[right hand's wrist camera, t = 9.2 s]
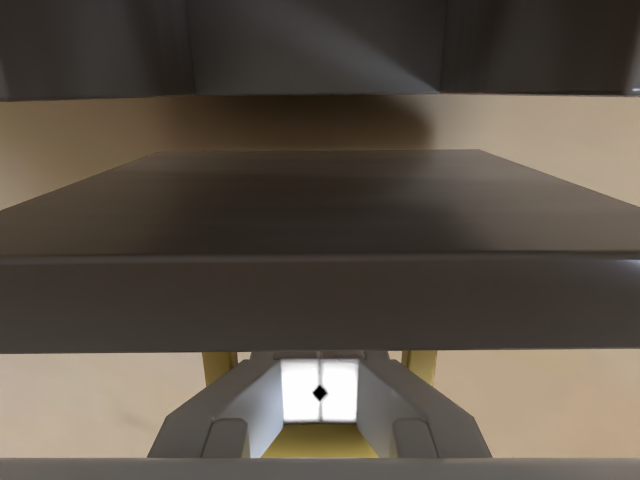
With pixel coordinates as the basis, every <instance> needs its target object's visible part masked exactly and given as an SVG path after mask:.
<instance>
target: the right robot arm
mask: <svg viewBox="0 0 640 480" xmlns="http://www.w3.org/2000/svg"><path fill="white" fill-rule="evenodd" d="M306 424H342V425H356V427H357V428H358V430H359V432H360V433H361V434H362V436H363V437H364V438H365V439H366V441H367V442H368V443H369V445H370V446H371V447H372V449H373V450H374V451H375V452H376V454H377V455H378V456H379V458H260V457H261V456H262V455H263V454H264V452H265V451H266V450H267V448H268V447H269V446H270V444H271V443H272V442H273V441H274V439H275V438H276V437H277V435H278V434H279V433H280V432H281V430H282V429H283V425H306ZM0 480H640V458H493V457H492V455H491V453H490V451H489V449H488V447H487V445H486V442H485V440H484V438H483V436H482V434H481V432H480V430H479V427H478V425H477V423H476V421H475V419H474V417H473V416H471V415H470V414H469V413H467V412H466V411H465V410H463V409H462V408H461V407H459V406H458V405H457V404H455V403H454V402H452V401H451V400H450V399H448V398H447V397H446V396H444V395H443V394H442V393H440V392H439V391H438V390H436V389H435V388H433V387H432V386H431V385H429V384H428V383H427V382H425V381H424V380H423V379H421V378H420V377H419V376H417V375H416V374H414V373H413V372H412V371H410V370H409V369H408V368H406V367H405V366H404V365H402V364H401V363H400V362H398V361H397V360H390V358H389V354H388V351H287V352H252V353H251V356H250V360H243V361H241V362H240V363H239V364H237V365H236V366H235V367H233V368H232V369H230V370H229V371H228V372H226V373H225V374H224V375H222V376H221V377H220V378H218V379H217V380H215V381H214V382H213V383H211V384H210V385H209V386H207V387H206V388H205V389H203V390H202V391H200V392H199V393H198V394H196V395H195V396H194V397H192V398H191V399H190V400H188V401H187V402H185V403H184V404H183V405H181V406H180V407H179V408H177V409H176V410H175V411H173V412H172V413H170V414H169V415H168V416H166V418H165V420H164V422H163V425H162V427H161V429H160V431H159V433H158V435H157V437H156V439H155V441H154V443H153V445H152V448H151V450H150V452H149V454H148V456H147V458H0Z"/></svg>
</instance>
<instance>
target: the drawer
mask: <svg viewBox="0 0 640 480" xmlns="http://www.w3.org/2000/svg"><path fill="white" fill-rule="evenodd" d="M381 94H470V95H531V96H592V97H640V0H0V102H20V101H51V100H83V99H115V98H146V97H178V96H252V95H381ZM531 349H640V207H638V206H635V205H632V204H629V203H626V202H624V201H621V200H618V199H615V198H612V197H610V196H607V195H604V194H601V193H598V192H596V191H593V190H590V189H587V188H585V187H582V186H579V185H576V184H573V183H571V182H568V181H565V180H562V179H559V178H557V177H554V176H551V175H548V174H546V173H543V172H540V171H537V170H534V169H532V168H529V167H526V166H523V165H520V164H518V163H515V162H512V161H509V160H507V159H504V158H501V157H498V156H495V155H493V154H490V153H487V152H484V151H481V150H359V151H231V152H156V153H154V154H151V155H148V156H146V157H143V158H140V159H138V160H135V161H132V162H130V163H127V164H124V165H122V166H119V167H116V168H114V169H111V170H108V171H106V172H103V173H100V174H97V175H95V176H92V177H89V178H87V179H84V180H81V181H79V182H76V183H73V184H71V185H68V186H65V187H63V188H60V189H57V190H55V191H52V192H49V193H47V194H44V195H41V196H39V197H36V198H33V199H30V200H28V201H25V202H22V203H20V204H17V205H14V206H12V207H9V208H6V209H4V210H1V211H0V354H42V353H164V352H202V356H203V364H204V372H205V379H206V387H207V386H209V385H210V384H211V383H213V382H214V381H215V380H217V379H218V378H220V377H221V376H222V375H224V374H225V373H226V372H228V371H229V370H230V369H232V368H233V367H235V366H236V365H237V364H238V358H237V352H287V351H402V362H401V364H402V365H404V366H405V367H406V368H408V369H409V370H410V371H412V372H413V373H414V374H416V375H417V376H419V377H420V378H421V379H423V380H424V381H425V382H427V383H428V384H429V385H431V386H432V387H433V383H434V374H435V365H436V356H437V350H531ZM260 458H379V456H378V455H377V454H376V452H375V451H374V450H373V449H372V447H371V446H370V445H369V443H368V442H367V441H366V439H365V438H364V437H363V436H362V434H361V433H360V432H359V430H358V428H357V427H356V425H342V424H306V425H283V429H282V430H281V432H280V433H279V434H278V435H277V437H276V438H275V439H274V441H273V442H272V443H271V444H270V446H269V447H268V448H267V450H266V451H265V452H264V454H263V455H262V456H261V457H260Z"/></svg>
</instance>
